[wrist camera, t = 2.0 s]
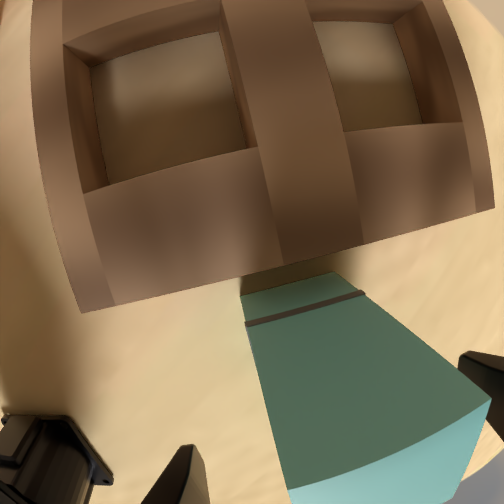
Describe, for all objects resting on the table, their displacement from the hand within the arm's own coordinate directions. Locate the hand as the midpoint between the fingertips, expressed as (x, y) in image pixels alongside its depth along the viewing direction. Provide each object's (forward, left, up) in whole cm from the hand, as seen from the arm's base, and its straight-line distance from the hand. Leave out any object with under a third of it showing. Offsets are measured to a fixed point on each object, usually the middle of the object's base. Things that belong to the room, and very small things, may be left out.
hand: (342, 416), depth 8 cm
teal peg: (0, 0, -7) cm, 7 cm away
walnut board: (+11, -1, -6) cm, 13 cm away
